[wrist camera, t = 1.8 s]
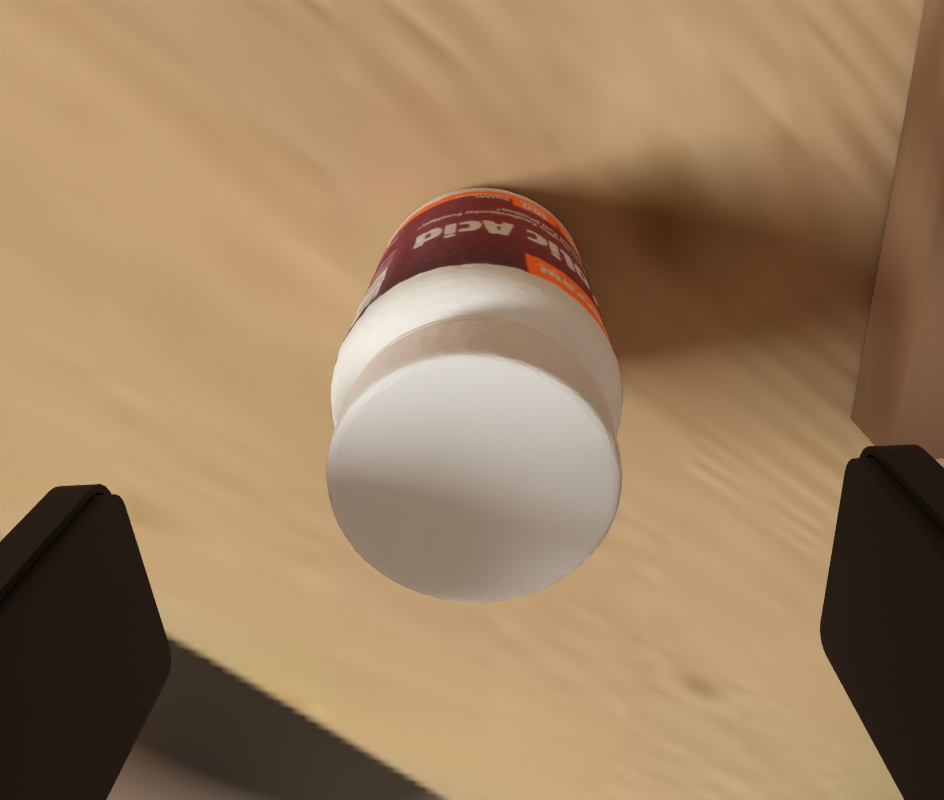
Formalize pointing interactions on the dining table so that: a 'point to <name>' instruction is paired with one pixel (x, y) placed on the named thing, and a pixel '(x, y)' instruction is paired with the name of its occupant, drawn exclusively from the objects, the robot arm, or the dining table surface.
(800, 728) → the dining table surface
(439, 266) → the pill bottle
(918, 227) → the plinth
